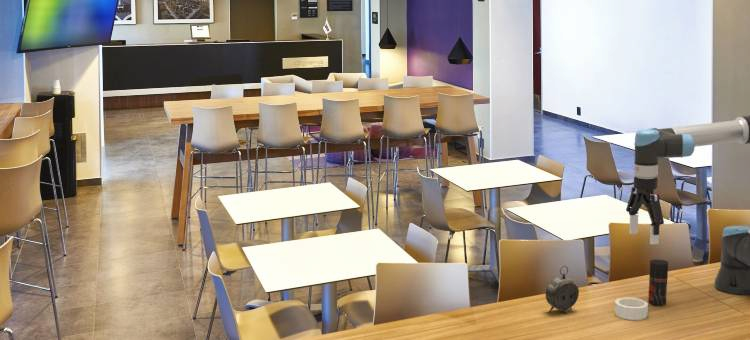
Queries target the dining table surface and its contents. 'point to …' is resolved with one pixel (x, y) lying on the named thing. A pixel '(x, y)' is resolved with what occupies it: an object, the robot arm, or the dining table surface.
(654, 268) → the deodorant
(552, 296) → the alarm clock
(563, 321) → the dining table surface
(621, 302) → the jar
